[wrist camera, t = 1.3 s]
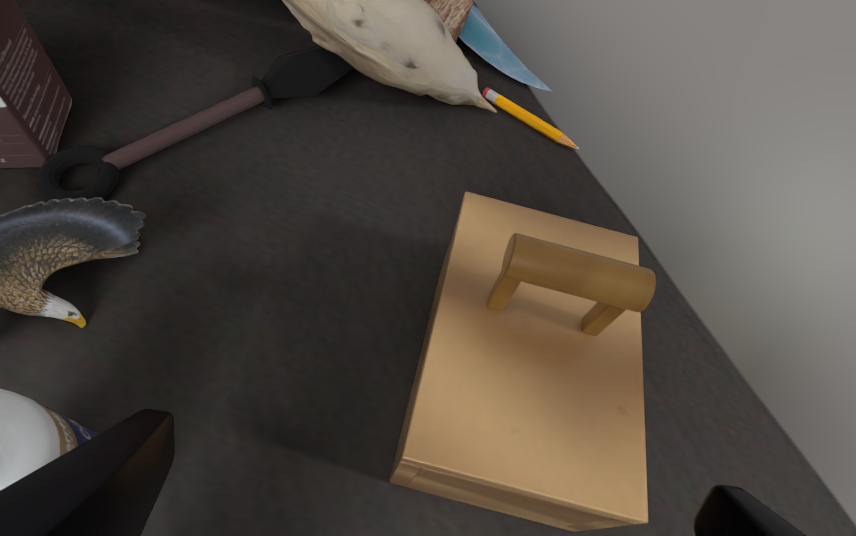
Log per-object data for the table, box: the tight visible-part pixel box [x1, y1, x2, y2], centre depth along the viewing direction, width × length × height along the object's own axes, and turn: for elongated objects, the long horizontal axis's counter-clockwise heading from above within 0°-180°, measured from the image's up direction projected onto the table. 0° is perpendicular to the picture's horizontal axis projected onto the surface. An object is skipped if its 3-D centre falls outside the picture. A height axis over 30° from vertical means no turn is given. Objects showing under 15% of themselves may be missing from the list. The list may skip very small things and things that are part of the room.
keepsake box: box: [389, 215, 633, 532], centre depth 22 cm, size 12×9×5 cm
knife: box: [459, 0, 552, 92], centre depth 41 cm, size 22×2×5 cm
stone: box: [424, 0, 473, 43], centre depth 37 cm, size 7×6×5 cm
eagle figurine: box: [0, 198, 146, 328], centre depth 21 cm, size 8×7×9 cm
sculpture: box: [282, 0, 497, 113], centre depth 30 cm, size 6×25×5 cm
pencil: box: [482, 87, 580, 150], centre depth 35 cm, size 1×9×1 cm
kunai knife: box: [37, 46, 354, 201], centre depth 30 cm, size 4×27×3 cm, turn 131°
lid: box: [400, 192, 656, 524], centre depth 18 cm, size 12×9×5 cm
